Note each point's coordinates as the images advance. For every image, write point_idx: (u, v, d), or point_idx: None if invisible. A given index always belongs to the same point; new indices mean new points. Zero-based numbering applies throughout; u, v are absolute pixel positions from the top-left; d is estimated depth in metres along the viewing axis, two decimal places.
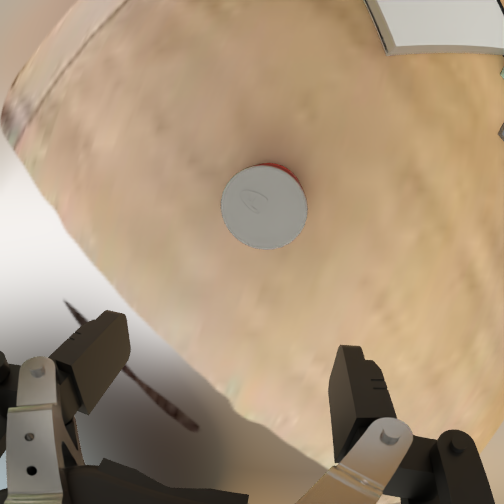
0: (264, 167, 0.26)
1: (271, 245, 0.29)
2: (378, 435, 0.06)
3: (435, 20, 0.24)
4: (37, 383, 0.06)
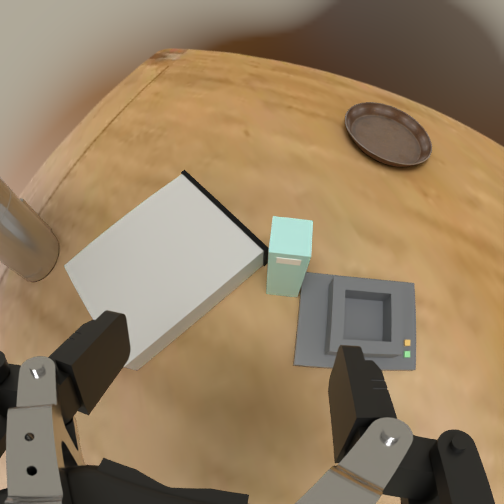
0: None
1: None
2: (378, 435, 0.06)
3: (152, 306, 0.35)
4: (37, 382, 0.06)
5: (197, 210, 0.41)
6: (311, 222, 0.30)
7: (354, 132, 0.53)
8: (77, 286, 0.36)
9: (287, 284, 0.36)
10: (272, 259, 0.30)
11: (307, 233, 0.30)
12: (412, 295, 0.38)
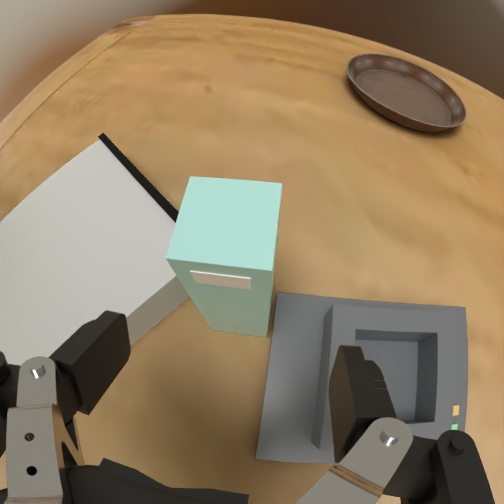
0: None
1: None
2: (378, 435, 0.06)
3: (28, 344, 0.17)
4: (36, 382, 0.06)
5: (108, 188, 0.23)
6: (278, 187, 0.13)
7: (360, 87, 0.35)
8: None
9: (241, 320, 0.18)
10: (184, 275, 0.13)
11: (267, 212, 0.12)
12: (463, 328, 0.20)
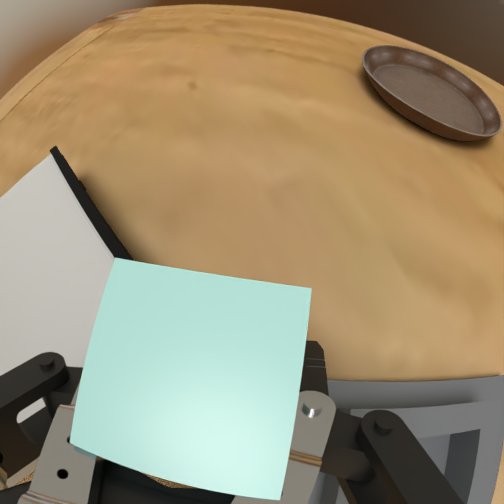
0: None
1: None
2: (298, 405, 0.07)
3: None
4: None
5: (51, 223, 0.16)
6: (303, 298, 0.06)
7: None
8: None
9: None
10: None
11: (275, 366, 0.05)
12: (503, 401, 0.13)
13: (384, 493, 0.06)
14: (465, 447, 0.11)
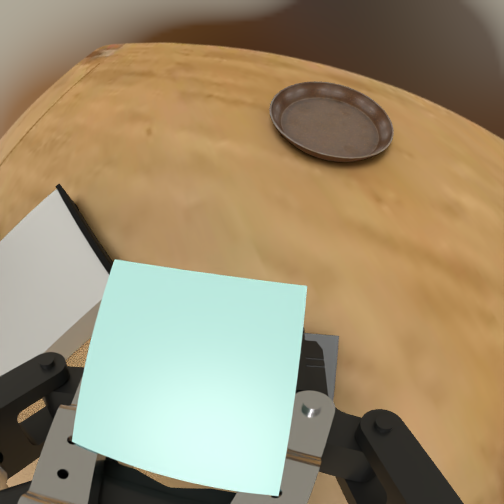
0: None
1: None
2: (297, 405, 0.07)
3: (9, 346, 0.24)
4: None
5: (60, 233, 0.29)
6: (298, 296, 0.06)
7: (285, 120, 0.41)
8: None
9: None
10: None
11: (272, 363, 0.05)
12: (333, 355, 0.27)
13: (383, 493, 0.06)
14: None
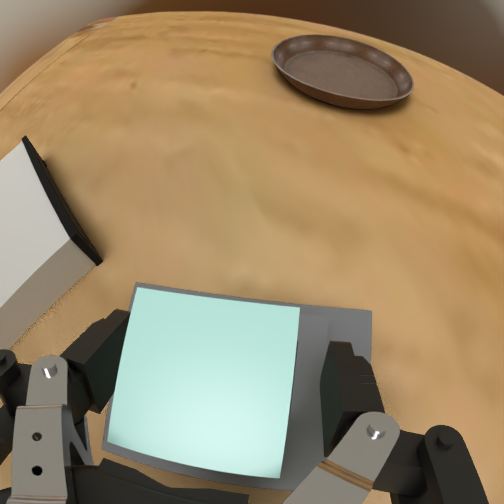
0: None
1: None
2: (364, 429, 0.06)
3: None
4: (48, 382, 0.06)
5: (17, 185, 0.21)
6: (293, 316, 0.07)
7: (289, 68, 0.33)
8: None
9: None
10: None
11: (272, 371, 0.06)
12: (365, 337, 0.18)
13: None
14: None
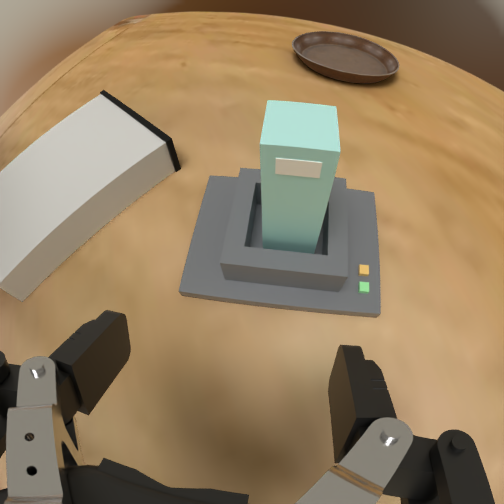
0: None
1: None
2: (378, 435, 0.06)
3: (36, 215, 0.25)
4: (36, 382, 0.06)
5: (105, 119, 0.31)
6: (334, 108, 0.16)
7: (305, 55, 0.43)
8: None
9: (296, 231, 0.21)
10: (268, 165, 0.16)
11: (329, 120, 0.15)
12: (371, 207, 0.27)
13: None
14: (326, 209, 0.25)
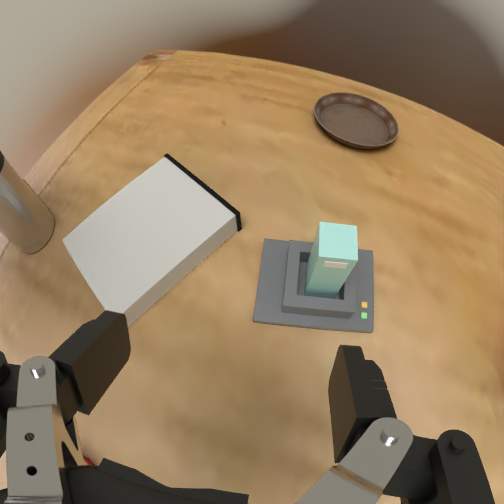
0: None
1: None
2: (378, 435, 0.06)
3: (139, 266, 0.40)
4: (37, 383, 0.06)
5: (178, 185, 0.46)
6: (355, 227, 0.31)
7: (323, 119, 0.57)
8: (73, 256, 0.41)
9: (327, 287, 0.37)
10: (320, 263, 0.31)
11: (353, 238, 0.31)
12: (370, 261, 0.42)
13: None
14: None
